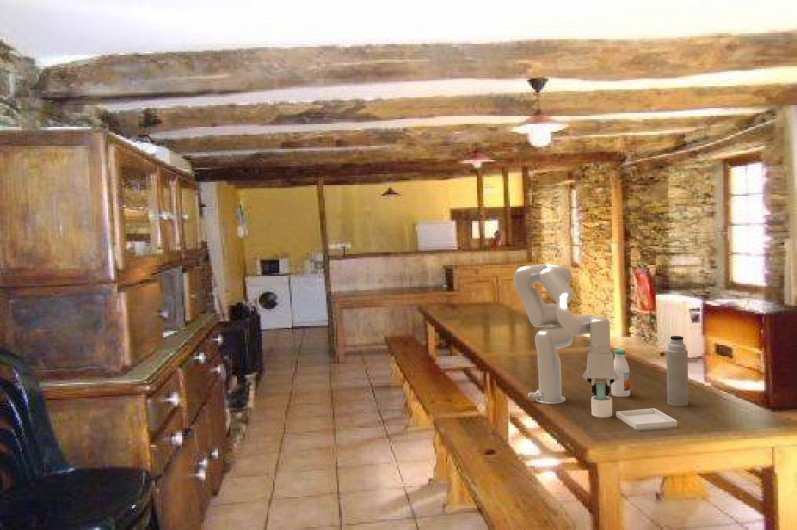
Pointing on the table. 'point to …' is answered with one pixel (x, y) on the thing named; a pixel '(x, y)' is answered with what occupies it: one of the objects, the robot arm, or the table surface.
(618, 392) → the milk bottle
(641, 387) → the table surface
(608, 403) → the cup
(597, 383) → the peg
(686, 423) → the table surface
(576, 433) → the table surface
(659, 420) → the tray
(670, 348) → the thermos bottle
